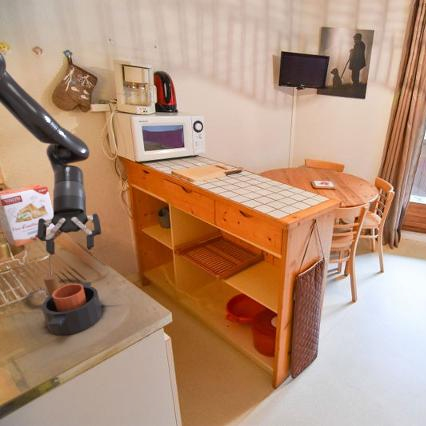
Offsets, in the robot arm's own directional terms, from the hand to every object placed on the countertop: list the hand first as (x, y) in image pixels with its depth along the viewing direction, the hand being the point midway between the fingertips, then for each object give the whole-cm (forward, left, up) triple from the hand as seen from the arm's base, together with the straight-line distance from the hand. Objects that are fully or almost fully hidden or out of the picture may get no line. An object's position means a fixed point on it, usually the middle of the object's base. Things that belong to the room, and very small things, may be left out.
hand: (71, 251), depth 89 cm
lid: (-7, 0, -15) cm, 16 cm away
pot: (+3, -11, -15) cm, 19 cm away
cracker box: (-31, +37, -16) cm, 51 cm away
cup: (+3, -11, -15) cm, 18 cm away
